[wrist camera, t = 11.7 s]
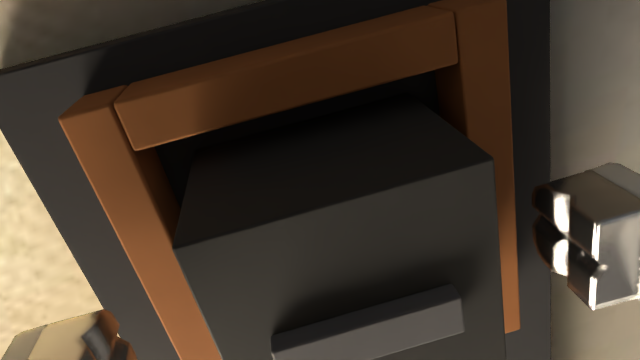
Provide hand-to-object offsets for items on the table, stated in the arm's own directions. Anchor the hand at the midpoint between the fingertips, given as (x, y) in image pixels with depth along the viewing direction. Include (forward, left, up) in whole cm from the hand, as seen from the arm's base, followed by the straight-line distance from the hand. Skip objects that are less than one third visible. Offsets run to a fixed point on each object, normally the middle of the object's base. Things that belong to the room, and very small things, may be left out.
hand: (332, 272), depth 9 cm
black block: (+1, 0, -3) cm, 3 cm away
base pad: (+9, -7, -4) cm, 12 cm away
